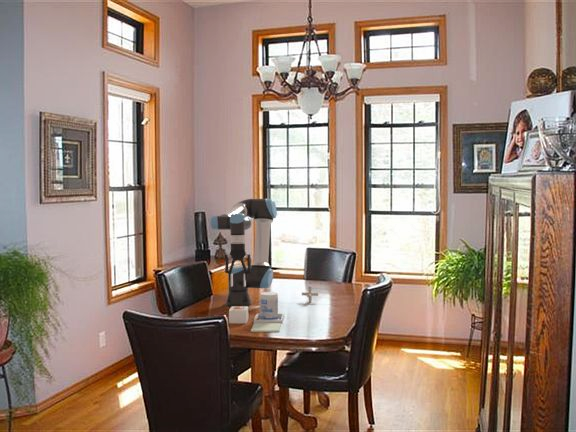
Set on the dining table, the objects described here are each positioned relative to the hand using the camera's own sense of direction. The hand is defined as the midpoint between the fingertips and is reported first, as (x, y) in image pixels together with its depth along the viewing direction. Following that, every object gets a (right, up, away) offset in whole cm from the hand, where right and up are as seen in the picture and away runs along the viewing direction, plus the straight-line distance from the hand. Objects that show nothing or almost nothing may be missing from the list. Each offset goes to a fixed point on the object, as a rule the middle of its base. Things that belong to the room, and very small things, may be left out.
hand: (238, 286), depth 303 cm
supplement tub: (+16, -19, +2) cm, 25 cm away
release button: (0, -16, +1) cm, 17 cm away
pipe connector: (+40, -16, +46) cm, 63 cm away
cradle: (+16, -19, +2) cm, 25 cm away
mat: (+15, -20, -14) cm, 28 cm away
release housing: (0, -19, +1) cm, 19 cm away
